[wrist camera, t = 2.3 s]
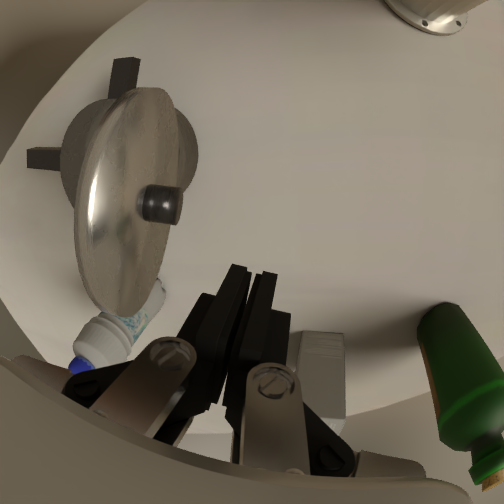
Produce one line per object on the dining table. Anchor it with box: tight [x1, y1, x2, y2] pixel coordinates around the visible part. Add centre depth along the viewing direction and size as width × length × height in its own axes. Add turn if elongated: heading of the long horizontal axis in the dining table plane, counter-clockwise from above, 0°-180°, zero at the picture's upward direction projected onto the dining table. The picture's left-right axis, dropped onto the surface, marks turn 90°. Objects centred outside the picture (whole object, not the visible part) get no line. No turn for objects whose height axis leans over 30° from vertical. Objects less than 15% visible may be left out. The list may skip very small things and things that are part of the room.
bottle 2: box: [417, 303, 504, 492], centre depth 23 cm, size 11×11×28 cm
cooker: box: [27, 57, 198, 209], centre depth 29 cm, size 23×24×9 cm
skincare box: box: [295, 331, 346, 436], centre depth 34 cm, size 8×7×16 cm
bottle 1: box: [68, 279, 166, 374], centre depth 33 cm, size 7×7×20 cm
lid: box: [74, 87, 183, 317], centre depth 17 cm, size 15×15×3 cm
